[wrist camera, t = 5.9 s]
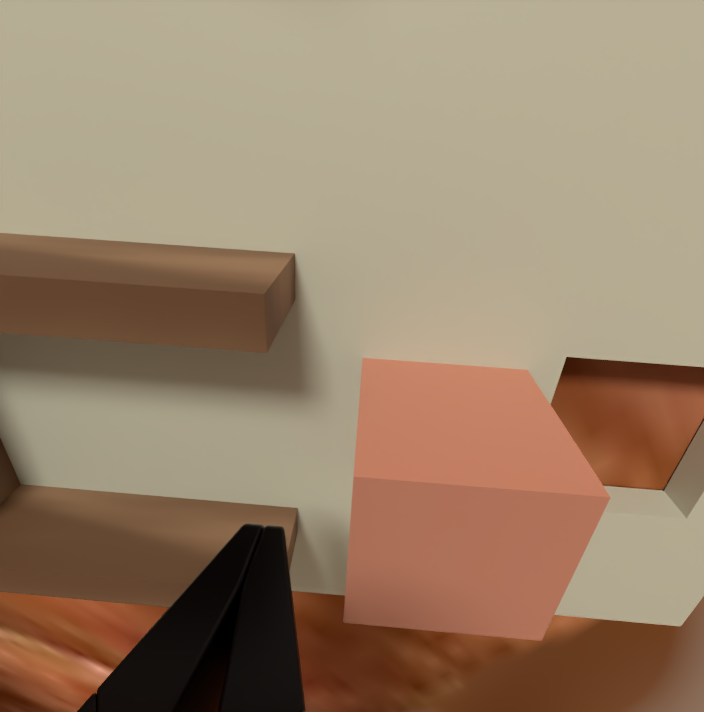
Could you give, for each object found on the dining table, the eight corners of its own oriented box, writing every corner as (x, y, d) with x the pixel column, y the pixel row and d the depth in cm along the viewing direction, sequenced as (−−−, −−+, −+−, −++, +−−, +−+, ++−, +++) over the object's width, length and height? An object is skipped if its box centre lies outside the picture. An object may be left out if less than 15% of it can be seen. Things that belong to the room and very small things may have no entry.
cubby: (297, 531, 15) (279, 617, 12) (-1, 505, 15) (-83, 584, 12) (294, 253, 10) (264, 293, 7) (-139, 223, 10) (-320, 251, 8)
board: (661, 595, 17) (680, 626, 16) (50, 541, 18) (29, 566, 17) (1055, 13, 8) (1157, -6, 7) (-207, -52, 9) (-288, -79, 8)
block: (492, 490, 13) (541, 640, 9) (354, 479, 13) (342, 622, 9) (527, 369, 11) (610, 497, 7) (362, 357, 11) (353, 476, 7)
